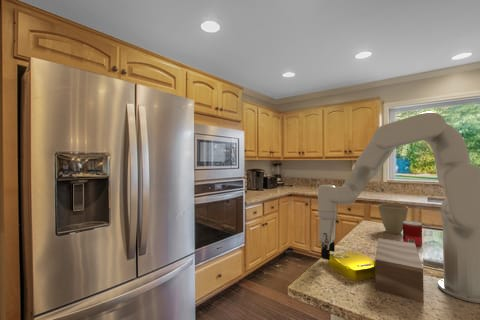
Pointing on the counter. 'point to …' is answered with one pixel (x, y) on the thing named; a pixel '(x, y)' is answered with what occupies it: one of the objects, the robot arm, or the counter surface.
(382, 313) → the counter surface
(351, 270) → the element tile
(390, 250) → the brown wooden block
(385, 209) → the plant pot
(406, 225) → the canned food
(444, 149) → the robot arm
